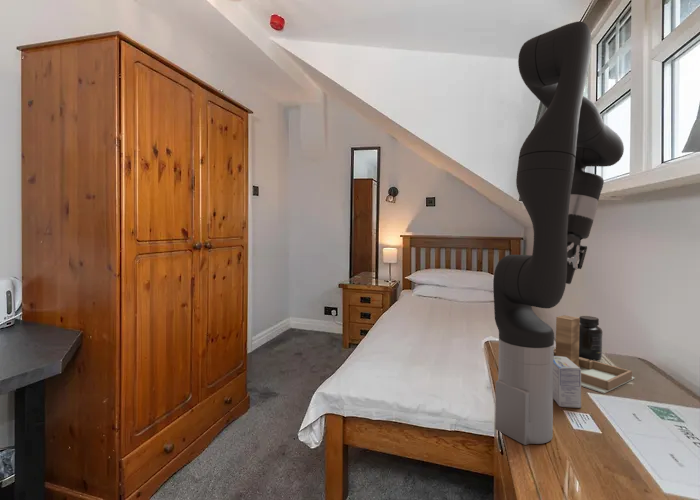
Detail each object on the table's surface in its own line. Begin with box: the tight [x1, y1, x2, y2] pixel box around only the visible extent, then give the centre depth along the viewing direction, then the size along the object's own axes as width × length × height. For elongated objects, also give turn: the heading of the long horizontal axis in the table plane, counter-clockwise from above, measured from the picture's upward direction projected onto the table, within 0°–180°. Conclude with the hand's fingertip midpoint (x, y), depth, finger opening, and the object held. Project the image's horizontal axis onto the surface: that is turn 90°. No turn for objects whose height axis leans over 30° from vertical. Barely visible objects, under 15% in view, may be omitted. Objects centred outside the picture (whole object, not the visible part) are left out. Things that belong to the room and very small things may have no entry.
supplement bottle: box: [579, 315, 603, 361], centre depth 105 cm, size 7×7×12 cm
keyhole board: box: [554, 348, 636, 395], centre depth 93 cm, size 16×19×3 cm
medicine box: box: [553, 356, 582, 409], centre depth 78 cm, size 8×4×9 cm, turn 168°
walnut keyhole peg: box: [555, 314, 580, 368], centre depth 95 cm, size 6×6×14 cm
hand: (556, 280), depth 86 cm, fingers open, 8 cm apart
